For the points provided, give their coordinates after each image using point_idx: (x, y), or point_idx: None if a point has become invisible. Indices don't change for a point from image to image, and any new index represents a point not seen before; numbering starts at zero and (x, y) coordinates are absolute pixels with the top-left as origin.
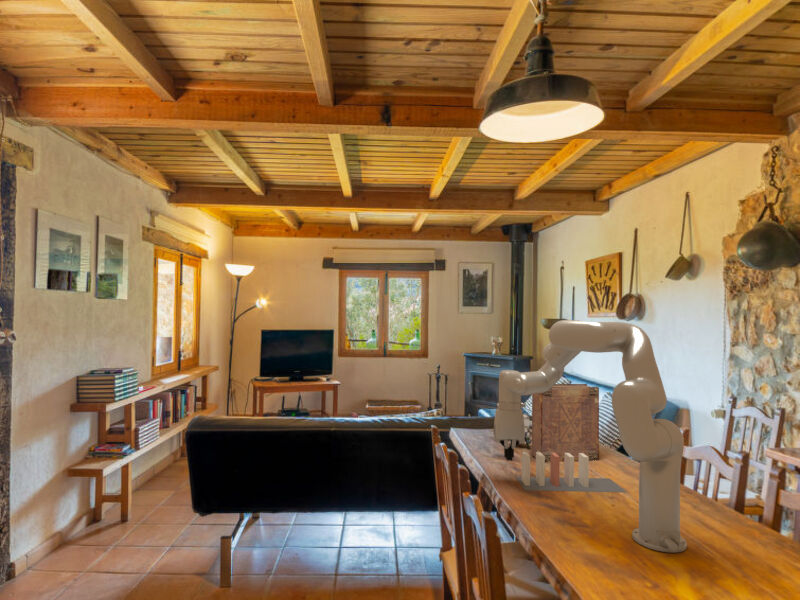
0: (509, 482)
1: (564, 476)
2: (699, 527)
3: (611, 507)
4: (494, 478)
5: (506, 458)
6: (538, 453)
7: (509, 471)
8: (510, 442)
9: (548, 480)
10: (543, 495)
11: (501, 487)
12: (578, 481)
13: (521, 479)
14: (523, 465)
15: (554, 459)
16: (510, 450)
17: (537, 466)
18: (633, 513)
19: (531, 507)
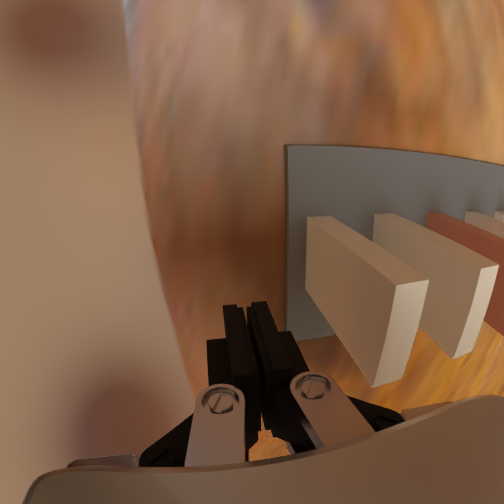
0: (239, 220)
1: (480, 218)
2: (494, 394)
3: (455, 373)
4: (161, 163)
5: (225, 333)
6: (478, 298)
7: (276, 30)
8: (306, 422)
9: (425, 200)
10: (343, 352)
11: (186, 300)
12: (495, 211)
13: (312, 194)
14: (344, 296)
15: (495, 321)
16: (266, 425)
17: (419, 272)
18: (466, 385)
19: (267, 436)
